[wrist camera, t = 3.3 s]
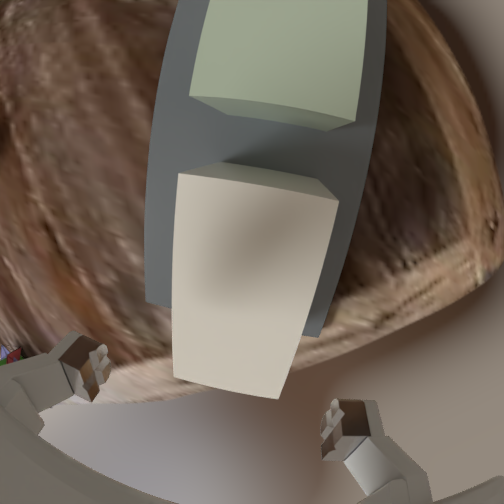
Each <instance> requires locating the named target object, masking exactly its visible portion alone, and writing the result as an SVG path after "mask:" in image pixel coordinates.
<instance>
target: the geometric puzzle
mask: <svg viewBox="0 0 504 504" xmlns="http://www.w3.org/2000/svg"><path fill="white" fill-rule="evenodd" d="M1 345H2V347H1V361H0V366H2V365H6V364H9V363H13V362H16V361H20V360H23V359H24V358H23V357H24V356H23V357H22V356H21V355H20V354H21V349H22V347H20V348H18V349H17V350H15V351H13V352H11V353H10V352H9V351H8V350H7V349H6V348H5V347H4V346H3V344H1ZM8 346H9V345H8ZM15 347H16V346H15ZM23 352H24V351H23ZM23 352H22V353H23ZM24 354H25V353H24Z"/></svg>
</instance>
